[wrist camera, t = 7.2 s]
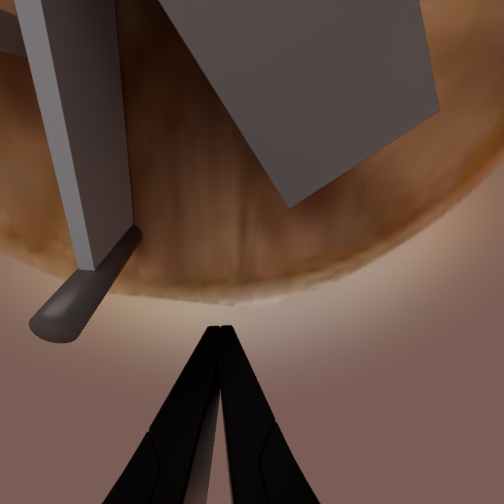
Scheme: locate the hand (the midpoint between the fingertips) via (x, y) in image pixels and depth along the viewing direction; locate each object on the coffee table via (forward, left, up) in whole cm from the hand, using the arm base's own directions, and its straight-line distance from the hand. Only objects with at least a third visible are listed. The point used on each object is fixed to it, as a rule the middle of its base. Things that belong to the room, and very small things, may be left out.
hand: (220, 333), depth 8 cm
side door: (+2, -8, -12) cm, 15 cm away
